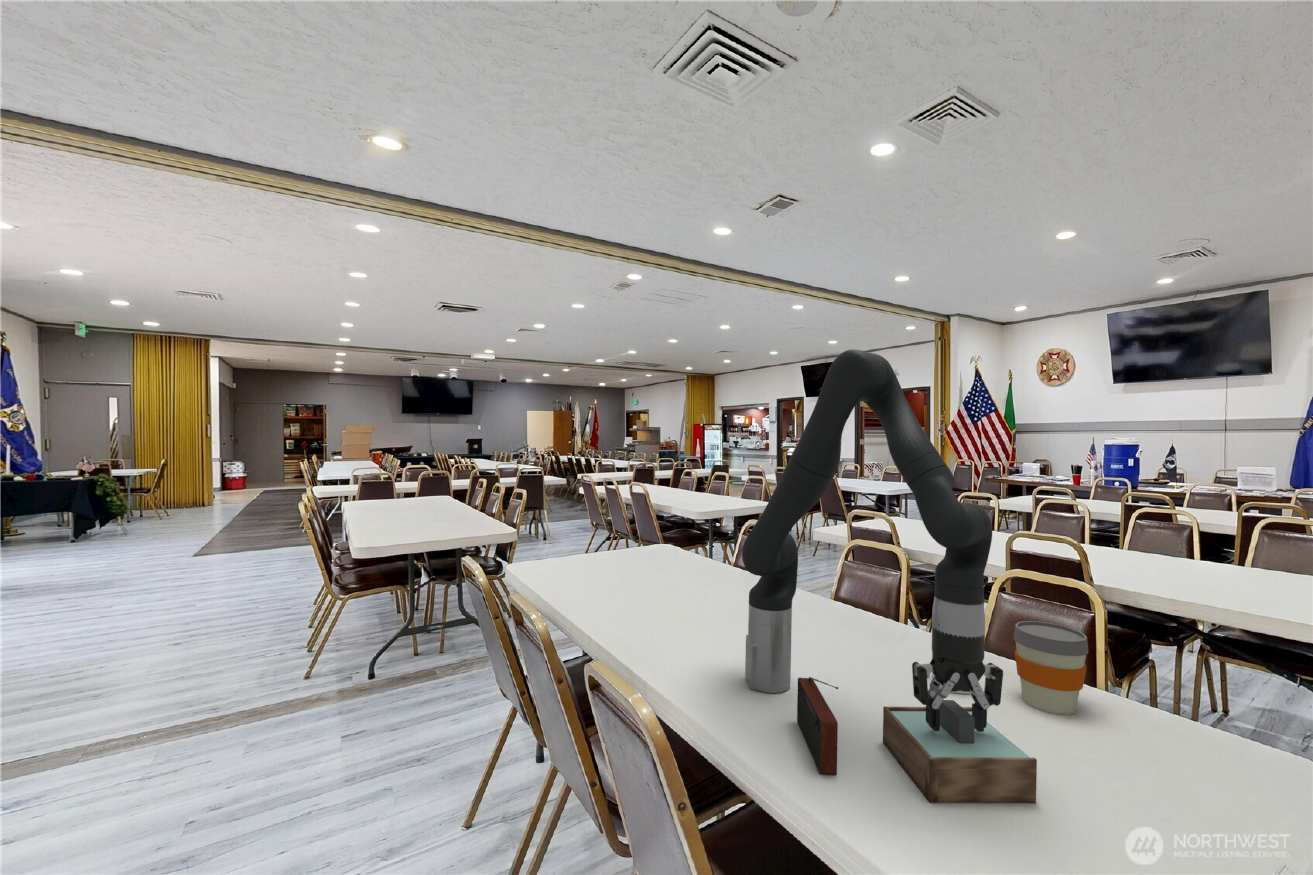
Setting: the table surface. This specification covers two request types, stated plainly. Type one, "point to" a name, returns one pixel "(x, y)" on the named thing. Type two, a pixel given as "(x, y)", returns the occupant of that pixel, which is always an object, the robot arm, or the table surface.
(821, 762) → the radio
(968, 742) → the cover plate
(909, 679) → the table surface
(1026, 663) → the reusable coffee cup
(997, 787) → the walnut box
